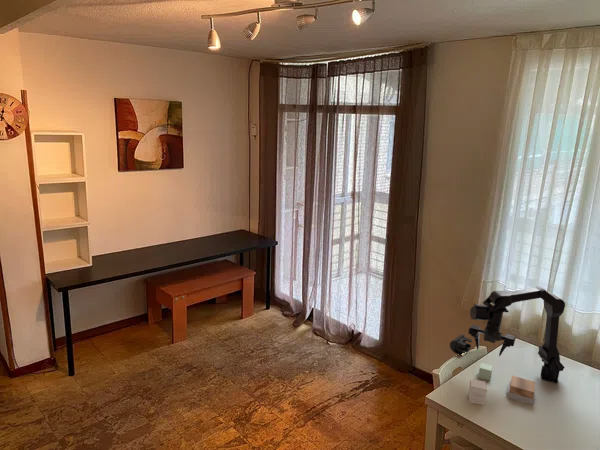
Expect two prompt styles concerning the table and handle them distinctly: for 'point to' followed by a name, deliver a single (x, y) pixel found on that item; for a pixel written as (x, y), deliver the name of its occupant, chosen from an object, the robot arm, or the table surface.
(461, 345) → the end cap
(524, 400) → the bottom slab
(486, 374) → the green cube
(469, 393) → the product box
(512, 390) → the top slab
